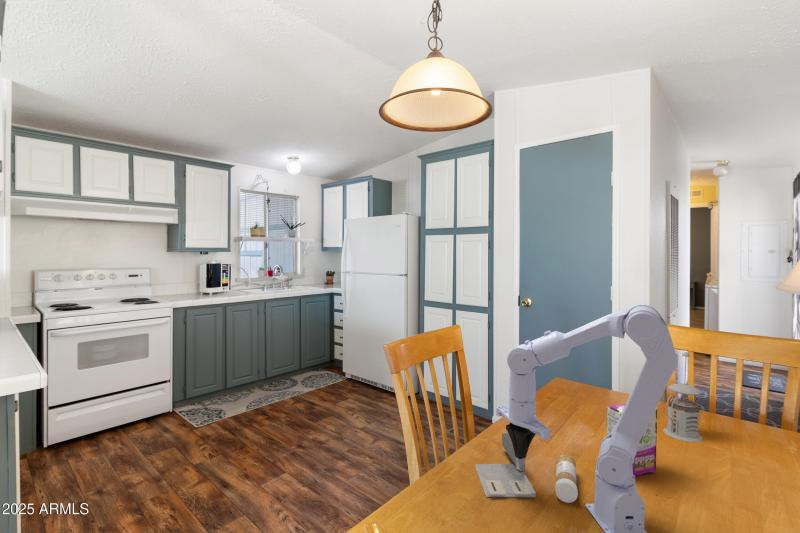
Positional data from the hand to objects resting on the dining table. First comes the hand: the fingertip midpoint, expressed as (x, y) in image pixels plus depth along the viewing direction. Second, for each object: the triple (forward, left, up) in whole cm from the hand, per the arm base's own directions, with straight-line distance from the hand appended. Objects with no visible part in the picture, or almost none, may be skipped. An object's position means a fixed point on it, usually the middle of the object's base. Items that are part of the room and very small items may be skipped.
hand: (520, 457), depth 92 cm
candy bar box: (+8, -30, -8) cm, 32 cm away
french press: (+28, -57, -8) cm, 64 cm away
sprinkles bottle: (+8, -14, -5) cm, 17 cm away
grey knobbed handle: (+12, -2, -6) cm, 13 cm away
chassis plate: (+3, +3, -8) cm, 9 cm away
